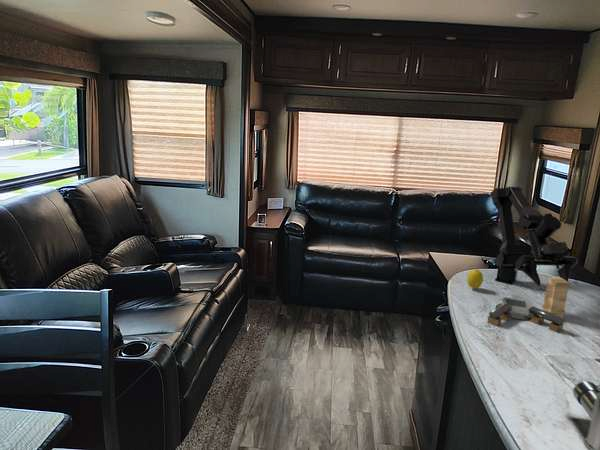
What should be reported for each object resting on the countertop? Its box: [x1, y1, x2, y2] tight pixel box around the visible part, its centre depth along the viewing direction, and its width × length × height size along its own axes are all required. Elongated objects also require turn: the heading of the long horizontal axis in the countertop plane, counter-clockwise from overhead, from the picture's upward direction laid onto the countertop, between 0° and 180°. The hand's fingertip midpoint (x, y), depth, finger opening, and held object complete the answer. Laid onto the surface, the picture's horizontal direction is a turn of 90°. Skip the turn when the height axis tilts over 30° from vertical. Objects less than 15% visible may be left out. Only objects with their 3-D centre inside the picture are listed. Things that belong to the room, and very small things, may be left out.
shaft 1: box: [486, 304, 512, 327], centre depth 143 cm, size 10×3×4 cm, turn 130°
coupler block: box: [542, 277, 570, 318], centre depth 147 cm, size 5×5×12 cm
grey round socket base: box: [494, 297, 533, 321], centre depth 150 cm, size 12×12×3 cm
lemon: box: [466, 268, 484, 290], centre depth 169 cm, size 6×6×8 cm
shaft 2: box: [529, 305, 565, 333], centre depth 141 cm, size 10×3×4 cm, turn 30°
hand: (553, 285), depth 149 cm, fingers open, 9 cm apart
